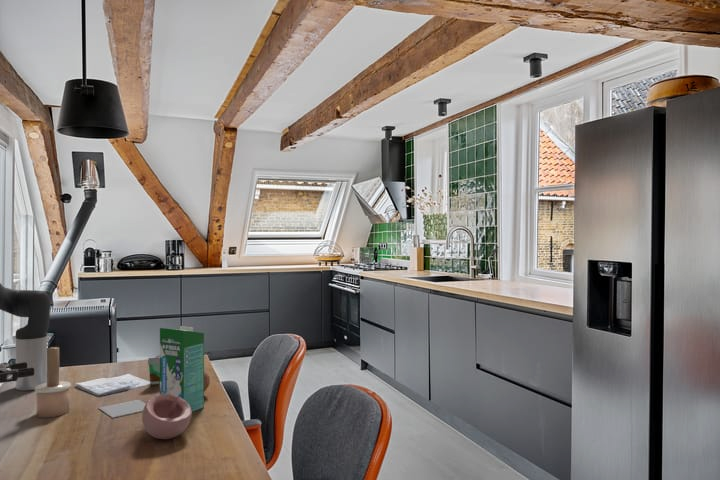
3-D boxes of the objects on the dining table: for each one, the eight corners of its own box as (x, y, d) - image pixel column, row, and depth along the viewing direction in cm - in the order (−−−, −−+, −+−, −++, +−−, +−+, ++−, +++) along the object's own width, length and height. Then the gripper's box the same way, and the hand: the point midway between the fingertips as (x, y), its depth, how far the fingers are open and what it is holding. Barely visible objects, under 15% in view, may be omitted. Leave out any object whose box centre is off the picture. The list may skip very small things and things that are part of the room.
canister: (33, 412, 159) (33, 388, 159) (64, 406, 165) (64, 383, 165) (40, 419, 153) (40, 394, 153) (72, 412, 159) (72, 389, 159)
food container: (163, 388, 185) (164, 359, 185) (147, 387, 186) (147, 358, 186) (182, 379, 197) (182, 351, 197) (167, 378, 199) (167, 350, 198)
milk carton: (204, 407, 165) (204, 325, 164) (182, 416, 156) (182, 329, 156) (181, 403, 168) (181, 323, 168) (159, 411, 160) (159, 327, 160)
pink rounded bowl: (162, 450, 131) (162, 403, 131) (132, 440, 138) (132, 395, 138) (201, 435, 142) (201, 391, 142) (170, 426, 148) (171, 384, 148)
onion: (173, 398, 173) (172, 367, 173) (191, 391, 182) (191, 361, 182) (197, 402, 170) (197, 370, 170) (215, 393, 179) (215, 363, 179)
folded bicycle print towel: (73, 388, 187) (73, 381, 187) (130, 376, 203) (130, 371, 203) (98, 398, 175) (98, 392, 175) (156, 385, 190) (156, 379, 190)
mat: (98, 408, 163) (98, 407, 163) (138, 400, 171) (138, 399, 171) (112, 418, 154) (112, 417, 154) (154, 409, 163) (154, 408, 163)
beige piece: (31, 388, 159) (31, 347, 159) (65, 382, 166) (65, 343, 166) (39, 395, 153) (39, 352, 153) (74, 389, 159) (74, 348, 159)
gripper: (-36, 369, 139) (36, 359, 150) (-44, 360, 149) (24, 351, 160) (-36, 398, 139) (36, 386, 150) (-44, 387, 149) (24, 376, 160)
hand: (30, 368), depth 155 cm, fingers open, 8 cm apart
